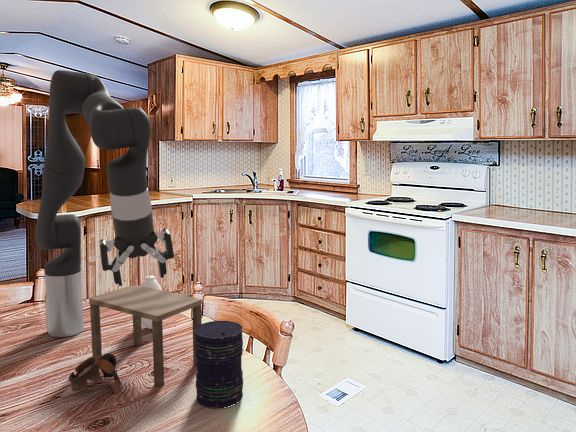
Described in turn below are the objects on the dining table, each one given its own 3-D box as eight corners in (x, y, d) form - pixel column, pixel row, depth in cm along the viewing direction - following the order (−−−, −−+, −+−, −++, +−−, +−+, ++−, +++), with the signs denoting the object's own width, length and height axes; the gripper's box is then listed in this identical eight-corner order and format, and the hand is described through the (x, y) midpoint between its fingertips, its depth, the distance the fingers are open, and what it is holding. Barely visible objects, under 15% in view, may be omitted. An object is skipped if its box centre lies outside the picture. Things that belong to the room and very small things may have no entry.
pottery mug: (115, 403, 101) (91, 374, 98) (79, 417, 103) (55, 389, 100) (135, 364, 112) (115, 337, 109) (103, 378, 114) (81, 352, 112)
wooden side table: (92, 362, 118) (88, 298, 116) (137, 343, 130) (135, 284, 128) (159, 387, 106) (157, 316, 104) (203, 364, 118) (201, 299, 116)
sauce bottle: (171, 326, 143) (169, 266, 140) (150, 335, 136) (148, 272, 134) (152, 321, 147) (150, 262, 144) (131, 329, 140) (129, 268, 138)
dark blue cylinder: (191, 390, 105) (190, 324, 103) (235, 382, 109) (234, 318, 107) (202, 413, 96) (200, 341, 94) (249, 403, 100) (249, 333, 98)
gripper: (165, 198, 102) (171, 264, 109) (92, 208, 96) (104, 277, 104) (171, 212, 95) (178, 282, 102) (94, 224, 90) (107, 296, 97)
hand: (141, 279), depth 103 cm, fingers open, 8 cm apart
